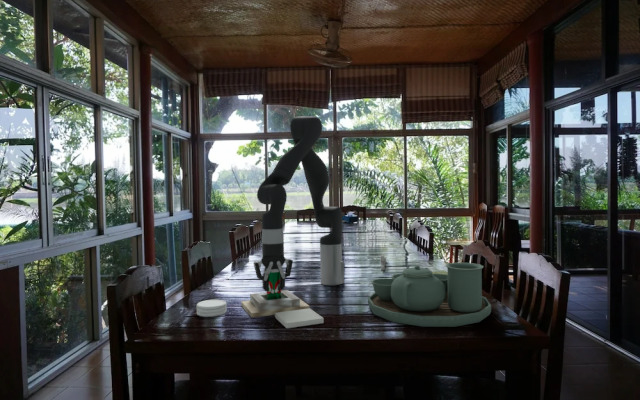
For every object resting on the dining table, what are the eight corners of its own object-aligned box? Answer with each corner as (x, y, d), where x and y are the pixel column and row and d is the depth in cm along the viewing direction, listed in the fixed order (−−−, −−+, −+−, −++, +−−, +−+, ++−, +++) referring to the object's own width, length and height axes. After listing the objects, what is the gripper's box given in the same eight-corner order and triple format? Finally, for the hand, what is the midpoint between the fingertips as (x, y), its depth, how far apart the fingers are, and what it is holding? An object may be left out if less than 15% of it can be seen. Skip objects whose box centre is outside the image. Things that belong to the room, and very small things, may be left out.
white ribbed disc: (193, 311, 151) (193, 301, 151) (221, 307, 156) (221, 297, 156) (200, 319, 142) (200, 308, 142) (230, 314, 147) (230, 304, 147)
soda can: (281, 300, 156) (280, 266, 156) (281, 303, 151) (280, 269, 151) (267, 300, 156) (266, 267, 155) (266, 304, 151) (265, 269, 150)
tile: (309, 312, 146) (309, 308, 146) (323, 322, 135) (323, 318, 135) (275, 317, 142) (275, 312, 142) (286, 328, 131) (286, 323, 131)
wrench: (386, 267, 240) (384, 271, 210) (382, 267, 240) (380, 271, 211) (386, 252, 240) (384, 254, 211) (382, 252, 241) (380, 254, 211)
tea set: (478, 296, 164) (478, 252, 164) (501, 332, 125) (501, 274, 124) (372, 293, 172) (371, 251, 171) (362, 326, 133) (361, 272, 132)
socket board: (294, 299, 164) (294, 288, 164) (309, 310, 150) (309, 298, 149) (241, 305, 157) (241, 294, 157) (251, 317, 142) (251, 305, 142)
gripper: (255, 244, 146) (256, 294, 147) (295, 241, 152) (296, 290, 152) (250, 241, 153) (251, 289, 154) (289, 239, 159) (290, 285, 159)
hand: (274, 289), depth 153 cm, fingers closed on soda can, 5 cm apart
